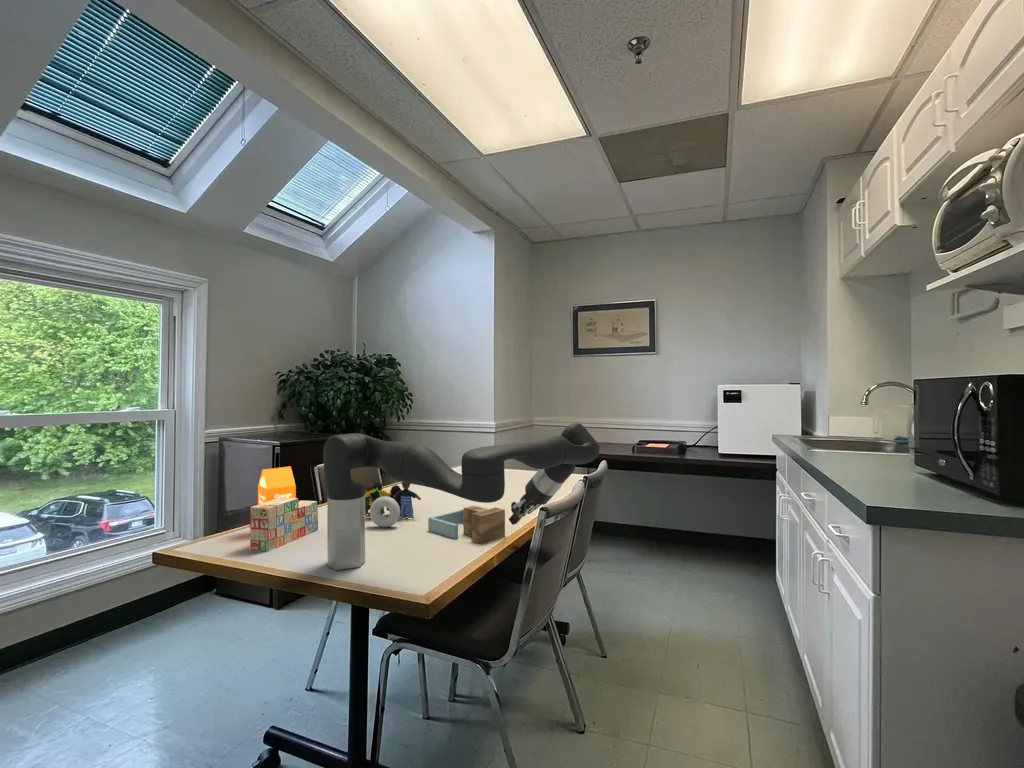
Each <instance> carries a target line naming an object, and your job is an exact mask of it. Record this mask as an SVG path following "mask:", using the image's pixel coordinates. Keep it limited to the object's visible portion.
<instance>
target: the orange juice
mask: <svg viewBox="0 0 1024 768" xmlns="http://www.w3.org/2000/svg"><path fill="white" fill-rule="evenodd" d="M296 489H297V486H296V482H295V477H294V474H293V470H292V466H291V465H290V466H283V467H275V468H274V467H273V468H264V469H262V471H261V474H260V477H259V482H258V485H257V505H259V504H262V503H265V502H268V501H271V500H274V499H277V498H281V497H285V498H297V494H296V493H297V491H296Z"/></svg>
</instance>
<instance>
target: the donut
mask: <svg viewBox="0 0 1024 768" xmlns="http://www.w3.org/2000/svg"><path fill="white" fill-rule="evenodd" d="M382 507H384V508H386V507H387V508H388V509H389V511H388V512H389V513H388V516H387V515H386V516H385V515H384V516H382V515H383V514H382V515H381V512H380V511H381V508H382ZM369 512H370V515H369V516H370V519H371V521H372V522H373V523H374V525H377V526H378V527H380V528H384V527H385V528H391V526H394V525H395V524H396V523H397V522H398V520H399V519H400V517H401V516H400V507H399V505H398V503H397V502H396V501H395V500H394V499H393V498H391V497H387V496H384V497H380V498H378V499H376V500H375V501H374V502H373V503H372V505H371V507H370V509H369Z"/></svg>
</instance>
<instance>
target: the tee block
mask: <svg viewBox="0 0 1024 768" xmlns="http://www.w3.org/2000/svg"><path fill="white" fill-rule="evenodd" d="M462 524H463V535H466V534H467V536H469V535H471V536H470V537H471V541H472V542H474V541H475V543H477V544H485V543H487V542H488V543H489V542H491V541H494V540H497V539H499V538H502V537H505V536H506V509H504V508H500V507H492V508H487V507H486V508H485V507H481V506H477V505H469V506H466V507H463V523H462Z"/></svg>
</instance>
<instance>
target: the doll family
mask: <svg viewBox="0 0 1024 768" xmlns="http://www.w3.org/2000/svg"><path fill="white" fill-rule="evenodd" d="M401 485H402V488H403V489H401V487H400V486H399V485H398V484H395V485H393V486H391V489H390V490H389V491H387V490H384V488H383V483H381V482H380V481H376V482H374V484H373V483H368V484H365V515H367V514H370V507H371V505H372V503H373V502H374V501H375V500H376V499H378V498H380V497H384V496H387V497H391V498H393V499H394V500H395V501H396V502H397V503H398V505H399V507H400V515H401V516H400V517H402V518H405V517H407V519H408V518H413V519H414V518H415V516H414V506H413V499H416V500H418V501H421V499H422V497H420V496H419V495H418V494H417V493H416V492H414V491H412V490H410V489H409V488H410V485H411V484H410V483H405V482H401ZM412 498H413V499H412ZM385 508H386V511H388V512H389V509H388V508H387V507H382V508H381V511H380V512H381V515H382V516H384V517H385V514H386V513H385ZM405 519H406V518H405Z"/></svg>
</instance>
